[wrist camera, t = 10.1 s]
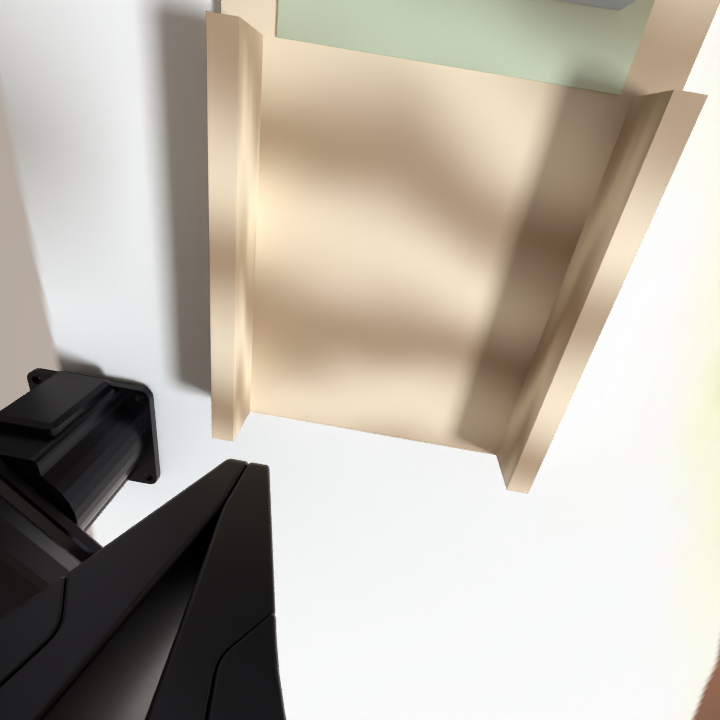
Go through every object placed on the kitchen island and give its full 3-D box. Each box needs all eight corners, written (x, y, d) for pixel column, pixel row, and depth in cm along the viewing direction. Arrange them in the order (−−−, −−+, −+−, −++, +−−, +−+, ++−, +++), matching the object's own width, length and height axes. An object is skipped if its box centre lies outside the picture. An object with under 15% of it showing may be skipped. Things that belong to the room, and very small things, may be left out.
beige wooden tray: (523, 455, 22) (538, 495, 20) (224, 402, 23) (201, 435, 20) (814, -239, 11) (934, -350, 9) (226, -333, 12) (176, -469, 9)
